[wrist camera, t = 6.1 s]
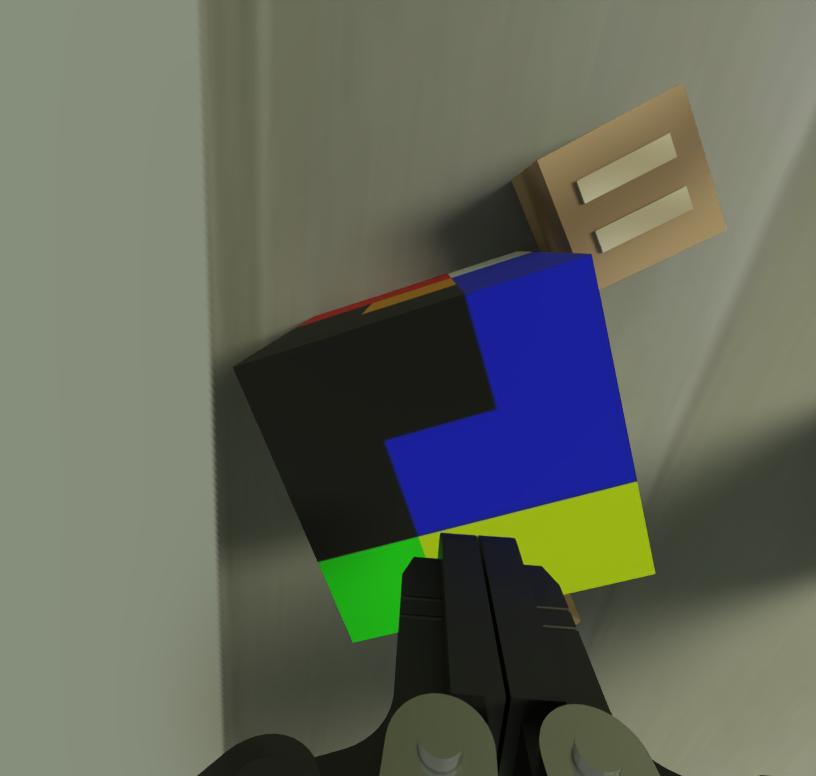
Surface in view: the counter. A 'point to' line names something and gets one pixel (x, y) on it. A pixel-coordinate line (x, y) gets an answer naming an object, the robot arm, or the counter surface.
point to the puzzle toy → (455, 430)
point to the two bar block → (625, 190)
